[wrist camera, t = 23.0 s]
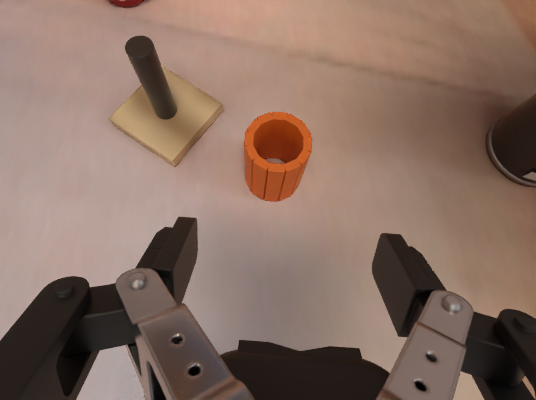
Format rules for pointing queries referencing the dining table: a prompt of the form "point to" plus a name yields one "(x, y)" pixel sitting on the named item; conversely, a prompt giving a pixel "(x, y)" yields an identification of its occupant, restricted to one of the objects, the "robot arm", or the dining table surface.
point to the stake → (163, 106)
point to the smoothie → (126, 2)
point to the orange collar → (276, 155)
